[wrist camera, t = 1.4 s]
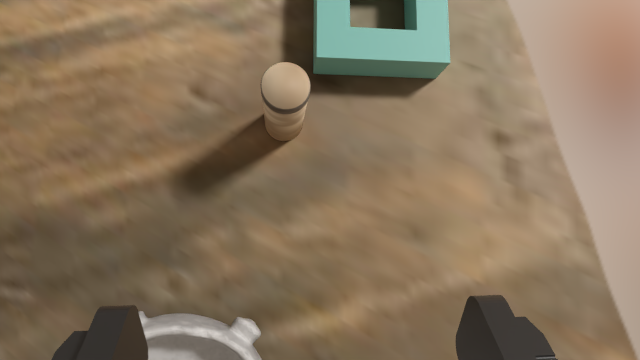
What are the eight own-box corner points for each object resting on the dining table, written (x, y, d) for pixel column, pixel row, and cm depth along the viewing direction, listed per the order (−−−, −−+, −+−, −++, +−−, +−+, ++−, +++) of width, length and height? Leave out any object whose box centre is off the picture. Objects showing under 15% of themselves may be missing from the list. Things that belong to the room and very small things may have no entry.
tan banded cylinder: (263, 141, 38) (260, 108, 30) (264, 103, 39) (261, 60, 30) (302, 142, 39) (310, 110, 30) (303, 104, 39) (311, 62, 30)
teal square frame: (313, 73, 40) (316, 56, 36) (313, -42, 41) (317, -68, 38) (435, 78, 41) (450, 62, 37) (431, -34, 42) (445, -59, 39)
